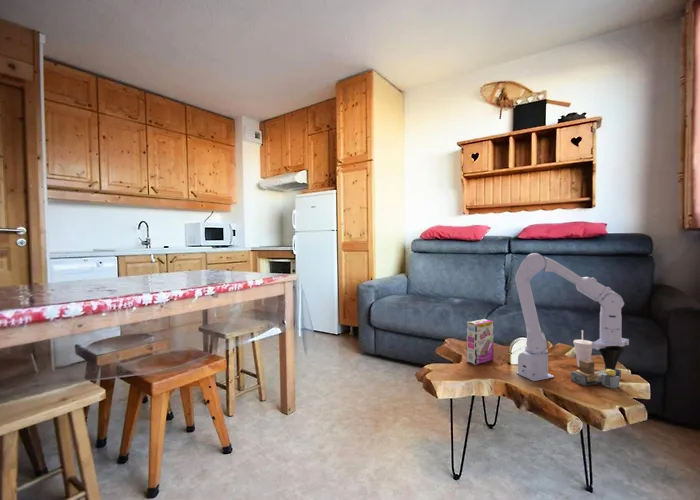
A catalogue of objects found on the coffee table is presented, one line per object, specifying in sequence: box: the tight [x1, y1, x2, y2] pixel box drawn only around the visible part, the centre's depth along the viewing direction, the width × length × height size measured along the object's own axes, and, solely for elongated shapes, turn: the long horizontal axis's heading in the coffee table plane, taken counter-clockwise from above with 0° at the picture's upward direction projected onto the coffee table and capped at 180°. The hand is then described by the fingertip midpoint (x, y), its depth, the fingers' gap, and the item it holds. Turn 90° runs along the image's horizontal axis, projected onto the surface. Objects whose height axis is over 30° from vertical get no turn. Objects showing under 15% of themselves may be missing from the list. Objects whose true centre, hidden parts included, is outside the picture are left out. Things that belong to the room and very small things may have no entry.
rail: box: [570, 365, 622, 387], centre depth 118 cm, size 17×5×3 cm, turn 108°
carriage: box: [574, 359, 598, 382], centre depth 117 cm, size 5×4×6 cm
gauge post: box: [601, 374, 620, 390], centre depth 112 cm, size 3×4×4 cm
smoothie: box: [573, 329, 593, 368], centre depth 129 cm, size 6×6×14 cm
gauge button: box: [606, 369, 616, 385], centre depth 112 cm, size 3×3×5 cm
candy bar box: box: [466, 318, 495, 366], centre depth 138 cm, size 11×5×16 cm, turn 121°
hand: (610, 368), depth 112 cm, fingers closed
